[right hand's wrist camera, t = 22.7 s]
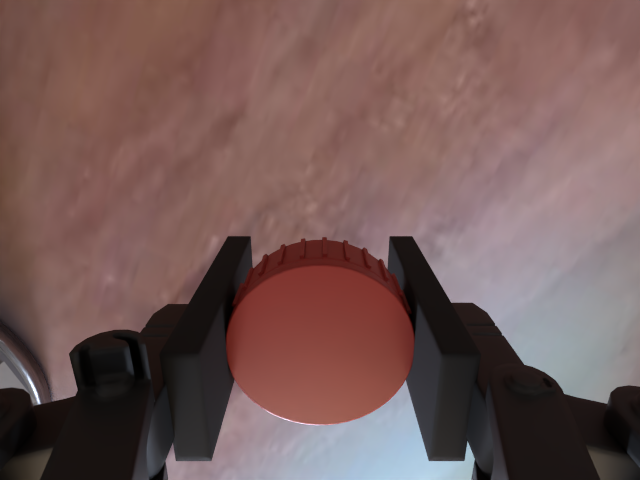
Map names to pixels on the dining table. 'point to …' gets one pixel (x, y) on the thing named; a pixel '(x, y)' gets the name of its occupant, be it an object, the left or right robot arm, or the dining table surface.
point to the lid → (320, 333)
